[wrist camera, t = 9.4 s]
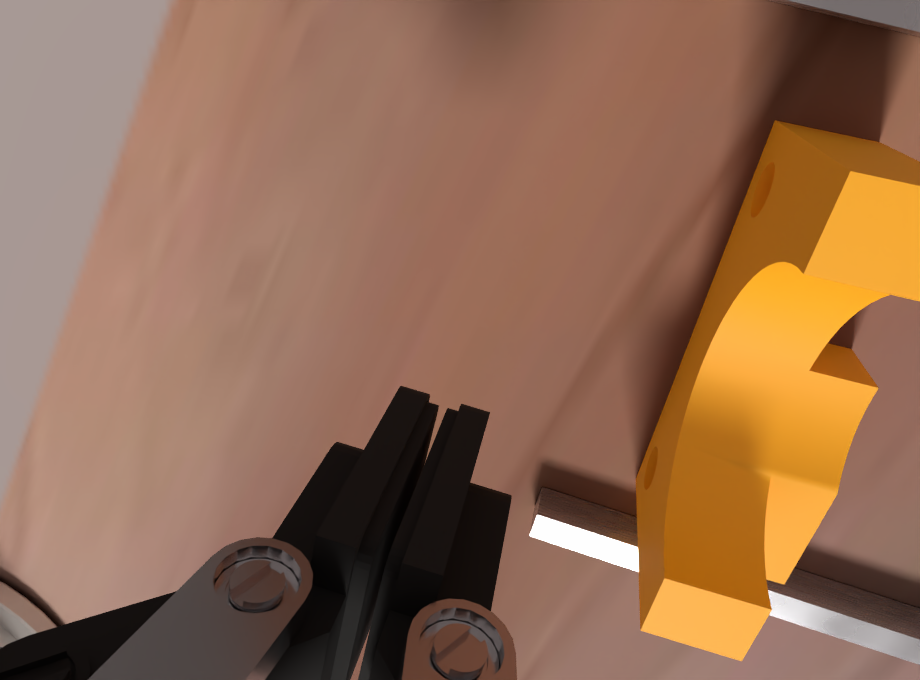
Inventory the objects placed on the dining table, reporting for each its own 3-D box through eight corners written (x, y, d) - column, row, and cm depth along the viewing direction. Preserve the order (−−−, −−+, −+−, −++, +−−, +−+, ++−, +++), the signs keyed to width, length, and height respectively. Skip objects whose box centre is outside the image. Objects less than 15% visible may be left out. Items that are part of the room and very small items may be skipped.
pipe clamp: (763, 511, 22) (812, 682, 16) (635, 476, 23) (640, 630, 17) (949, 156, 16) (1122, 229, 11) (774, 119, 17) (850, 171, 11)
